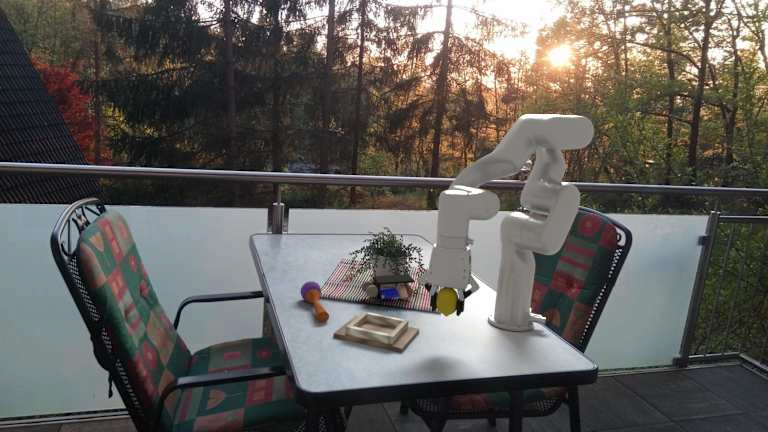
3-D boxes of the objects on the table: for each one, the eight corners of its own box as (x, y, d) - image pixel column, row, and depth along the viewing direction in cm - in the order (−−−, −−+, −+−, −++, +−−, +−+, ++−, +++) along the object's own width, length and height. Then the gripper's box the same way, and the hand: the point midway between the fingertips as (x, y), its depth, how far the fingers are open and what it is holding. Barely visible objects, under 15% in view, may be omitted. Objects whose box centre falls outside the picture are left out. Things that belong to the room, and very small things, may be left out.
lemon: (439, 321, 134) (442, 290, 132) (432, 312, 139) (434, 282, 138) (460, 320, 135) (463, 289, 134) (452, 311, 141) (454, 281, 139)
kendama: (310, 309, 144) (297, 280, 162) (313, 329, 146) (300, 298, 164) (332, 304, 146) (317, 276, 164) (335, 324, 147) (320, 294, 166)
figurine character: (367, 309, 163) (415, 302, 167) (366, 284, 161) (415, 277, 165) (361, 301, 169) (408, 294, 173) (360, 277, 167) (407, 271, 172)
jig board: (418, 332, 144) (419, 321, 143) (401, 352, 131) (402, 340, 130) (355, 319, 150) (356, 308, 149) (333, 337, 137) (334, 325, 136)
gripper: (489, 242, 134) (483, 312, 138) (422, 233, 140) (417, 301, 143) (484, 249, 127) (477, 323, 131) (413, 240, 133) (409, 311, 136)
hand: (446, 311), depth 137 cm, fingers closed on lemon, 5 cm apart
